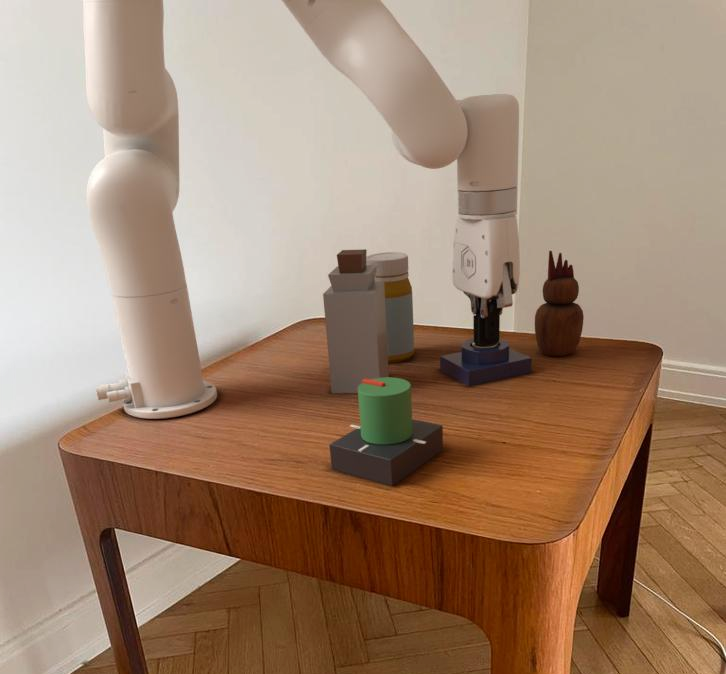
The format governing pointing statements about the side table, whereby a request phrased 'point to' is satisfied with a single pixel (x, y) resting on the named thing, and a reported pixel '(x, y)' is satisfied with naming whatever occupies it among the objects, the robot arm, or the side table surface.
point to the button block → (484, 363)
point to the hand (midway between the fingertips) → (486, 342)
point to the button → (484, 346)
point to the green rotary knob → (385, 410)
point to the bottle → (396, 303)
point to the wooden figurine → (559, 311)
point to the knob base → (386, 454)
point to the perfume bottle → (355, 323)
